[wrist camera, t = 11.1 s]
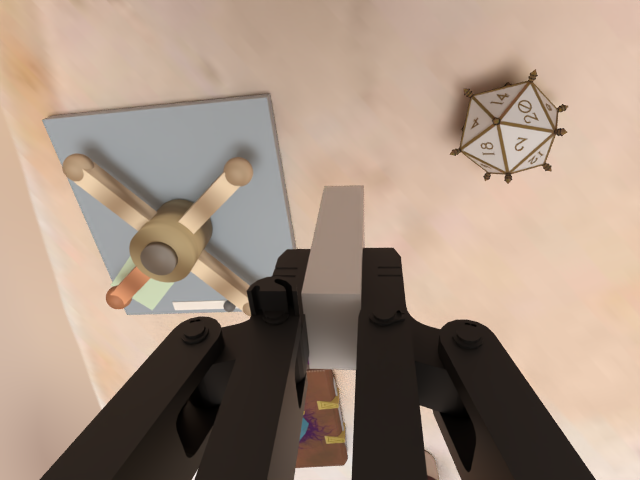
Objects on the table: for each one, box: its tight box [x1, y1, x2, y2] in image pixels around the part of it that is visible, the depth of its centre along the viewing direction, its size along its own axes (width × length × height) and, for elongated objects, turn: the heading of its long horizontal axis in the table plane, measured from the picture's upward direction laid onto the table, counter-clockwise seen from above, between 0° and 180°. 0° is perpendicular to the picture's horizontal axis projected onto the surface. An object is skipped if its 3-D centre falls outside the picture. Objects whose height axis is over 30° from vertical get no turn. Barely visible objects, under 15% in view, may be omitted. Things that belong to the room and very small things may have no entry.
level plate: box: [42, 94, 296, 315], centre depth 46 cm, size 24×22×3 cm
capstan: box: [62, 154, 253, 316], centre depth 43 cm, size 24×24×7 cm
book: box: [295, 358, 348, 468], centre depth 59 cm, size 16×25×5 cm, turn 8°
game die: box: [450, 69, 568, 184], centre depth 35 cm, size 9×8×10 cm
